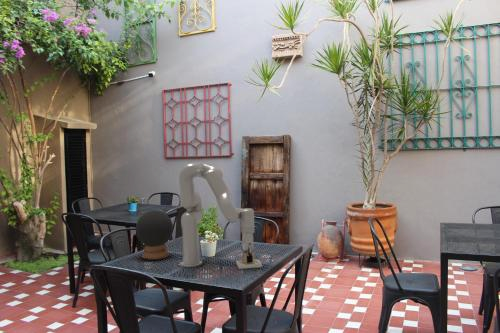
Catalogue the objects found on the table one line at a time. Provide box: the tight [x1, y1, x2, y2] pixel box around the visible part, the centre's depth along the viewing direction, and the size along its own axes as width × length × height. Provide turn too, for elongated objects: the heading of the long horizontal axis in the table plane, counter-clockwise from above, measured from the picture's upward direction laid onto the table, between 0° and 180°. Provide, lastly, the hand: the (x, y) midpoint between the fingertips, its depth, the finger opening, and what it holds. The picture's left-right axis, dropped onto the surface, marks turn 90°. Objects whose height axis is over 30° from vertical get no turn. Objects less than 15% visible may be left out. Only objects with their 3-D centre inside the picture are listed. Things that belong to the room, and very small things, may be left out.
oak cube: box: [242, 249, 256, 264], centre depth 255 cm, size 6×6×6 cm
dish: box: [235, 259, 263, 270], centre depth 255 cm, size 10×13×2 cm
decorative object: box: [135, 209, 174, 261], centre depth 282 cm, size 23×23×30 cm
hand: (248, 260), depth 255 cm, fingers closed on oak cube, 6 cm apart
